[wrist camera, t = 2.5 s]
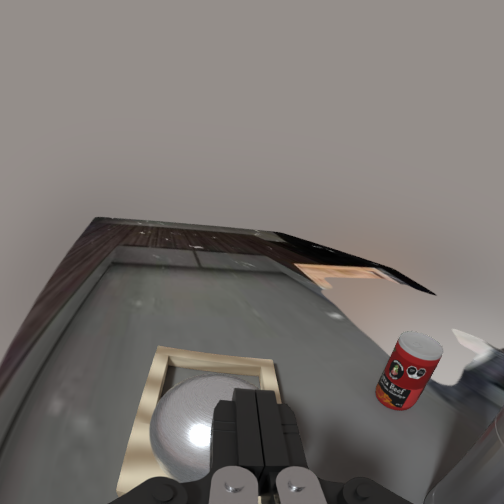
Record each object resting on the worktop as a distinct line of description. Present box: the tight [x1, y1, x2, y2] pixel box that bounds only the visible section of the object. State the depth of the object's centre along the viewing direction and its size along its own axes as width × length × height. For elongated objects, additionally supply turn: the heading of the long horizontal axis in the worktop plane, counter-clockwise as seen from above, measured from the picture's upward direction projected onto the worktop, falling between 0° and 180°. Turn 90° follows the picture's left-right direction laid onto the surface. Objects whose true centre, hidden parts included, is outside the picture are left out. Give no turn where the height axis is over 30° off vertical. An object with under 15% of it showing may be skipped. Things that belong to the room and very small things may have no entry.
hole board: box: [116, 346, 282, 504], centre depth 33 cm, size 26×18×2 cm
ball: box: [149, 374, 260, 483], centre depth 23 cm, size 12×12×12 cm
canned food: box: [376, 331, 443, 410], centre depth 40 cm, size 8×8×11 cm
